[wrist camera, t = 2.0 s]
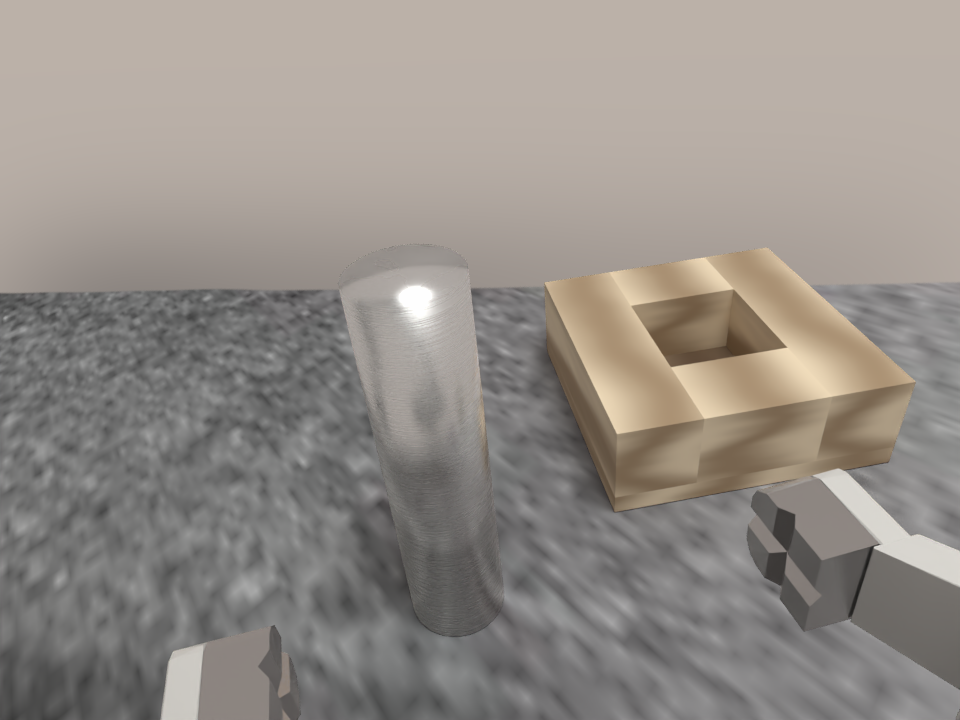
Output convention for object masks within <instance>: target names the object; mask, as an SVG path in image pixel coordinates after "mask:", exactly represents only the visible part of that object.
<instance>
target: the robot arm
mask: <svg viewBox="0 0 960 720" xmlns="http://www.w3.org/2000/svg"><path fill="white" fill-rule="evenodd" d="M751 508H752V509H753V510H754V511H755V513H756V514H757V515H756V516H755V517H754V518H753V519H752V521H751V522H750V523H749V524H748V530H747V542H748V546H749V550H750V554H751V556H752V558H753V560H754V562H755V564H756V566H757V567H758V569H759V570H760V572H761V573H762V575H763V576H764V578H766V579H768V580H770V581H772V582H774V583H776V584H778V585H780V586H781V588H780V600H781V601H782V603H783V604H784V605H785V607H786V608H787V609H788V611H789V612H790V614H791V615H792V616H793V618H794V619H795V620H796V622H797V623H798V625H799V626H800V627H801V629H802V630H803V631H804V632H805V631H808V630H812V629H816V628H819V627H823V626H827V625H830V624H834V623H837V622H841V621H845V620H848V619H851V622H852V623H854V624H855V625H857V626H858V627H860V628H862V629H863V630H865V631H866V632H868V633H870V634H871V635H873V636H874V637H876V638H878V639H879V640H881V641H882V642H884V643H886V644H887V645H889V646H890V647H892V648H894V649H895V650H897V651H898V652H900V653H902V654H903V655H905V656H906V657H908V658H910V659H911V660H913V661H914V662H916V663H918V664H919V665H921V666H922V667H924V668H926V669H927V670H929V671H930V672H932V673H934V674H935V675H937V676H938V677H940V678H942V679H943V680H945V681H946V682H948V683H950V684H951V685H953V686H954V687H956V688H958V689H959V690H960V551H958V550H956V549H953V548H951V547H949V546H946V545H944V544H941V543H939V542H936V541H934V540H932V539H929V538H927V537H924V536H922V535H920V534H917V535H913V536H910V535H909V534H908V533H907V532H906V531H905V530H904V529H903V528H902V527H901V526H900V525H899V524H898V523H897V522H896V521H895V520H894V519H893V518H892V517H891V516H890V515H889V514H888V513H887V512H886V511H885V510H884V509H883V508H882V507H881V506H880V505H879V504H878V503H877V502H876V501H875V500H874V499H873V498H872V497H871V496H870V495H869V494H868V493H867V492H866V491H865V490H864V489H863V488H862V487H861V486H860V485H859V484H858V483H857V482H856V481H855V480H854V479H853V478H852V477H851V476H850V475H849V474H848V473H847V472H845V471H843V470H841V469H839V468H838V469H834V470H830V471H826V472H823V473H819V474H816V475H812V476H810V477H809V476H806V477H802V478H799V479H796V480H792V481H789V482H785V483H782V484H779V485H775V486H772V487H768V488H765V489H761V490H758V491H757V492H756V493H755V494H754V495H753V498H752V503H751ZM300 715H301V711H300V695H299V688H298V682H297V676H296V673H295V669H294V666H293V663H292V661H291V658H290V656H289V654H287V653H284V652H282V651H281V637H280V635H279V633H278V631H277V629H276V627H275V625H274V626H270V627H266V628H262V629H258V630H254V631H250V632H246V633H242V634H238V635H234V636H230V637H226V638H222V639H218V640H214V641H210V642H206V643H202V644H198V645H195V646H191V647H187V648H183V649H180V650H176V651H173V653H172V655H171V658H170V660H169V662H168V667H167V675H166V682H165V690H164V697H163V705H162V712H161V720H298V718H299V716H300ZM956 720H960V710H959V712H958V714H957V716H956Z"/></svg>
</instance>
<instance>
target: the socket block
mask: <svg viewBox="0 0 960 720" xmlns="http://www.w3.org/2000/svg"><path fill="white" fill-rule="evenodd" d="M544 285H545V309H546V333H547V351H548V354H549V356H550V359H551V361H552V363H553V366H554V368H555V371H556V373H557V375H558V378H559V380H560V383H561V385H562V387H563V390H564V392H565V395H566V397H567V399H568V402H569V404H570V406H571V409H572V411H573V414H574V416H575V418H576V421H577V423H578V426H579V428H580V430H581V433H582V435H583V438H584V440H585V442H586V445H587V447H588V450H589V452H590V454H591V457H592V459H593V462H594V464H595V466H596V469H597V471H598V474H599V476H600V478H601V481H602V483H603V485H604V488H605V490H606V493H607V495H608V497H609V500H610V502H611V505H612V507H613V509H614V512H618V511H624V510H629V509H635V508H640V507H646V506H651V505H656V504H662V503H667V502H673V501H678V500H684V499H689V498H695V497H700V496H706V495H711V494H716V493H722V492H727V491H733V490H738V489H744V488H749V487H755V486H760V485H766V484H771V483H776V482H782V481H787V480H793V479H798V478H802V477H806V476H812V475H816V474H819V473H823V472H826V471H830V470H834V469H838V468H839V469H841V470H847V469H853V468H858V467H864V466H869V465H875V464H880V463H886V462H889V460H890V457H891V454H892V451H893V448H894V445H895V442H896V439H897V436H898V433H899V430H900V427H901V425H902V422H903V419H904V416H905V413H906V410H907V407H908V404H909V401H910V398H911V395H912V392H913V389H914V386H915V383H916V382H915V381H914V380H913V379H912V378H911V377H910V376H909V375H908V374H907V373H905V372H904V371H903V370H902V369H901V368H900V367H899V366H898V365H897V364H895V363H894V362H893V361H892V360H891V359H890V358H889V357H888V356H887V355H886V354H884V353H883V352H882V351H881V350H880V349H879V348H878V347H877V346H876V345H874V344H873V343H872V342H871V341H870V340H869V339H868V338H867V337H866V336H864V335H863V334H862V333H861V332H860V331H859V330H858V329H857V328H856V327H855V326H853V325H852V324H851V323H850V322H849V321H848V320H847V319H846V318H845V317H843V316H842V315H841V314H840V313H839V312H838V311H837V310H836V309H835V308H834V307H832V306H831V305H830V304H829V303H828V302H827V301H826V300H825V299H824V298H822V297H821V296H820V295H819V294H818V293H817V292H816V291H815V290H814V289H813V288H811V287H810V286H809V285H808V284H807V283H806V282H805V281H804V280H802V279H801V278H800V277H799V276H798V275H797V274H796V273H795V272H794V271H793V270H791V269H790V268H789V267H788V266H787V265H786V264H785V263H784V262H783V261H782V260H780V259H779V258H778V257H777V256H776V255H775V254H774V253H772V251H770V250H769V249H768V248H761V249H756V250H749V251H742V252H736V253H729V254H723V255H717V256H711V257H704V258H698V259H691V260H685V261H679V262H672V263H667V264H660V265H654V266H647V267H641V268H634V269H628V270H622V271H615V272H609V273H603V274H596V275H590V276H583V277H577V278H570V279H564V280H558V281H552V282H545V283H544Z"/></svg>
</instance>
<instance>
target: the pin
mask: <svg viewBox="0 0 960 720" xmlns="http://www.w3.org/2000/svg"><path fill="white" fill-rule="evenodd" d="M338 285H339V291H340V295H341V299H342V304H343V308H344V312H345V316H346V321H347V325H348V329H349V333H350V338H351V342H352V346H353V351H354V355H355V359H356V363H357V368H358V372H359V376H360V380H361V385H362V389H363V393H364V397H365V402H366V406H367V410H368V414H369V419H370V423H371V427H372V432H373V436H374V440H375V444H376V449H377V453H378V457H379V461H380V466H381V470H382V474H383V478H384V483H385V487H386V491H387V496H388V500H389V504H390V508H391V513H392V517H393V521H394V525H395V530H396V534H397V538H398V542H399V547H400V551H401V555H402V560H403V564H404V568H405V572H406V577H407V581H408V585H409V589H410V594H411V598H412V602H413V606H414V610H415V613H416V615H417V617H418V619H419V620H420V622H421V623H422V624H423V625H424V626H425V627H427V628H428V629H429V630H431V631H433V632H435V633H438V634H440V635H444V636H452V637H454V636H465V635H469V634H472V633H475V632H477V631H479V630H481V629H483V628H484V627H486V626H487V625H488V624H490V623H491V622H492V621H493V620H494V619H495V617H496V616H497V615H498V613H499V611H500V609H501V607H502V604H503V600H504V587H503V578H502V569H501V560H500V551H499V542H498V533H497V524H496V515H495V506H494V497H493V488H492V479H491V470H490V461H489V452H488V443H487V434H486V424H485V415H484V406H483V397H482V388H481V379H480V370H479V361H478V352H477V343H476V334H475V325H474V316H473V307H472V298H471V289H470V280H469V271H468V265H467V262H466V260H465V259H464V257H463V256H461V255H460V254H459V253H457V252H456V251H454V250H451V249H449V248H446V247H442V246H437V245H429V244H409V245H400V246H394V247H389V248H385V249H382V250H379V251H375V252H372V253H370V254H368V255H365V256H363V257H361V258H360V259H358V260H356V261H355V262H353V263H352V264H350V265H349V266H348V267H347V268H346V269H345V270H344V271H343V273H342V274H341V276H340V278H339V282H338Z"/></svg>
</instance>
